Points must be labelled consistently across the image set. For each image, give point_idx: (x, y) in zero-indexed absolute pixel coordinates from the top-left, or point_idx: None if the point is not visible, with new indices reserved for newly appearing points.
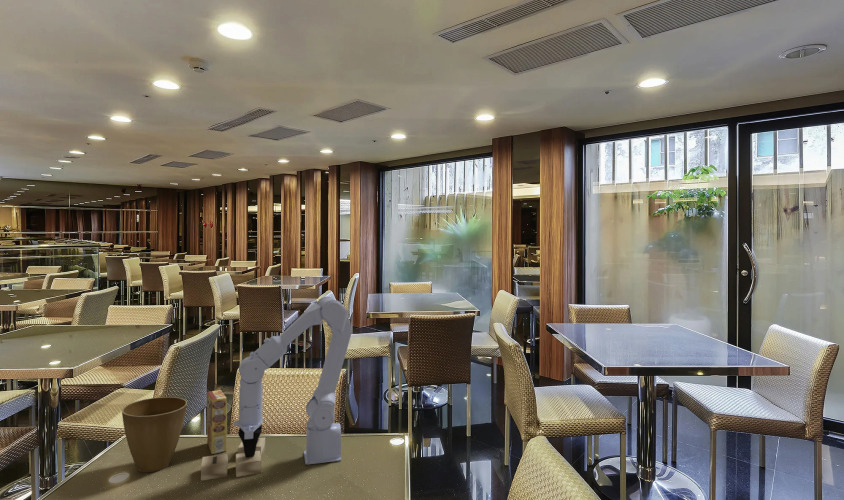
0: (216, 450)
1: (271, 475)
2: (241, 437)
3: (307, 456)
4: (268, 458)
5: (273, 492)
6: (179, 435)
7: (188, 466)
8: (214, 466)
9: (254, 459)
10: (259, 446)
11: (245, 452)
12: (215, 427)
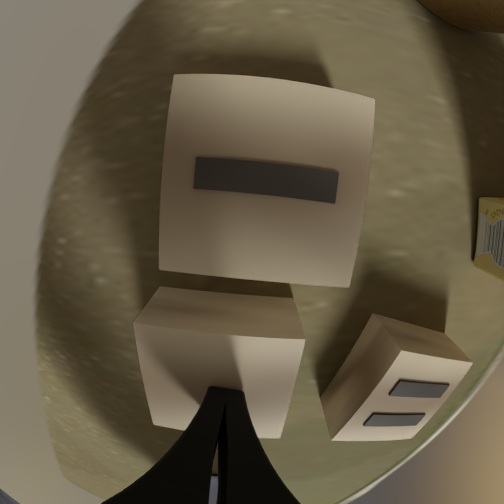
0: (486, 221)
1: (137, 400)
2: (114, 501)
3: (213, 487)
4: (300, 417)
5: (37, 365)
6: None
7: (405, 66)
8: (164, 172)
9: (172, 408)
10: (335, 436)
11: (201, 408)
12: None
